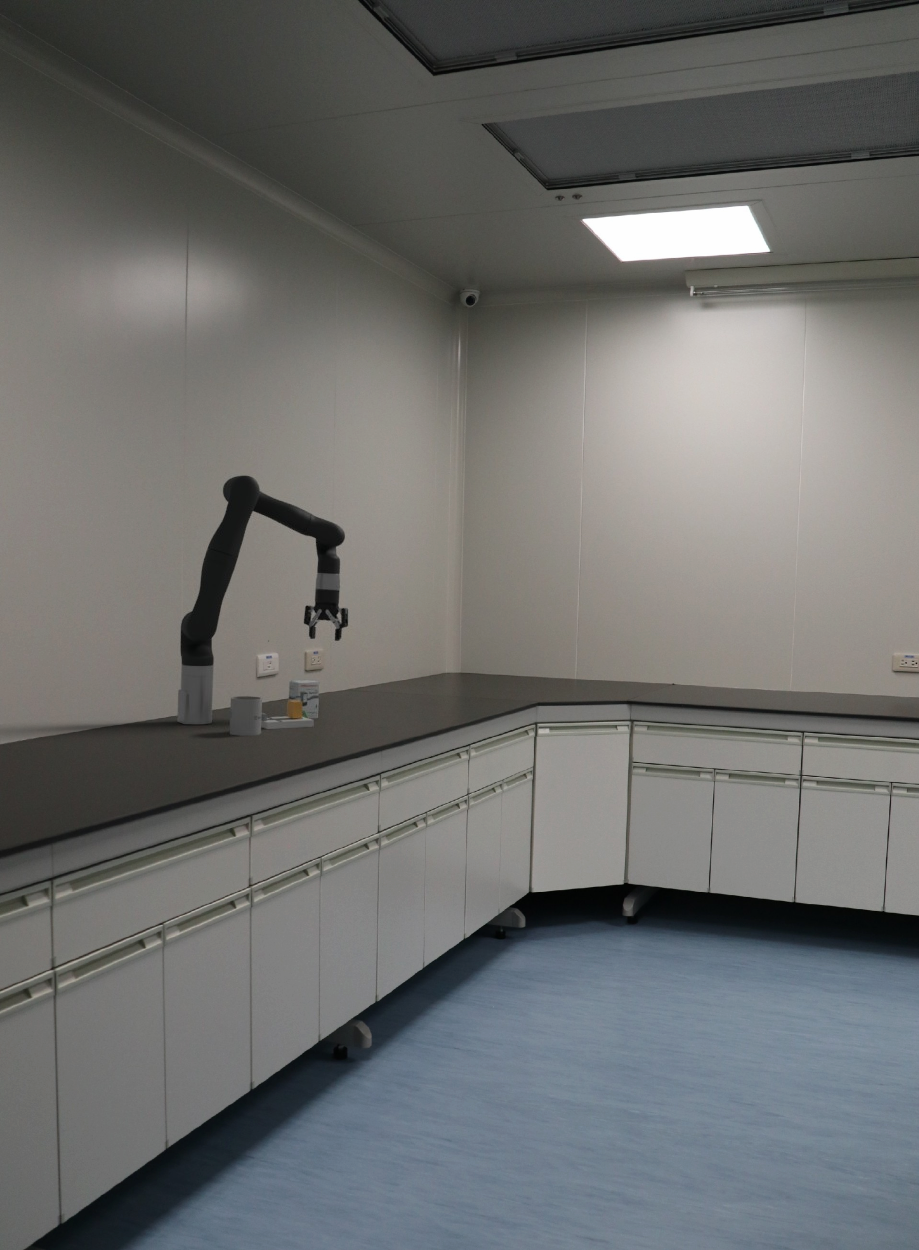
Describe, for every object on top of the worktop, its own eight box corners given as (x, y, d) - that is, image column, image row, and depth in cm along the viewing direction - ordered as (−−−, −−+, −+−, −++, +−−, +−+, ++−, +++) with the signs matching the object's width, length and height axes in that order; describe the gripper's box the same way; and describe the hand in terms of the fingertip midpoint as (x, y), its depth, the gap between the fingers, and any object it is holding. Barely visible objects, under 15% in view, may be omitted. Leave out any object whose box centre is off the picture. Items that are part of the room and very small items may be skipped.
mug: (250, 736, 288) (252, 700, 288) (223, 734, 291) (224, 698, 290) (272, 731, 300) (274, 696, 299) (246, 728, 302) (247, 694, 302)
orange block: (292, 718, 311) (293, 702, 310) (286, 716, 314) (287, 700, 314) (301, 717, 312) (302, 701, 312) (296, 716, 316) (296, 700, 315)
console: (267, 729, 303) (267, 715, 303) (253, 724, 311) (253, 711, 311) (313, 726, 311) (314, 713, 311) (298, 722, 320) (299, 709, 319)
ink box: (296, 720, 325) (297, 682, 324) (287, 718, 328) (288, 680, 328) (318, 718, 331) (320, 681, 330) (309, 716, 334) (310, 679, 334)
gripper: (301, 586, 326) (299, 638, 327) (343, 589, 322) (340, 641, 322) (312, 587, 333) (310, 637, 334) (353, 589, 329) (350, 641, 329)
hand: (324, 639), depth 328 cm, fingers open, 8 cm apart
